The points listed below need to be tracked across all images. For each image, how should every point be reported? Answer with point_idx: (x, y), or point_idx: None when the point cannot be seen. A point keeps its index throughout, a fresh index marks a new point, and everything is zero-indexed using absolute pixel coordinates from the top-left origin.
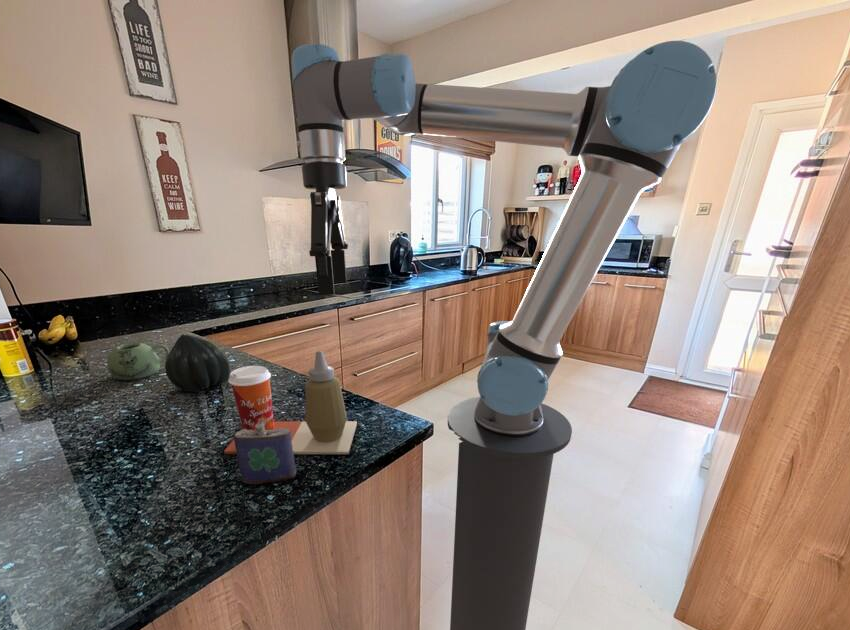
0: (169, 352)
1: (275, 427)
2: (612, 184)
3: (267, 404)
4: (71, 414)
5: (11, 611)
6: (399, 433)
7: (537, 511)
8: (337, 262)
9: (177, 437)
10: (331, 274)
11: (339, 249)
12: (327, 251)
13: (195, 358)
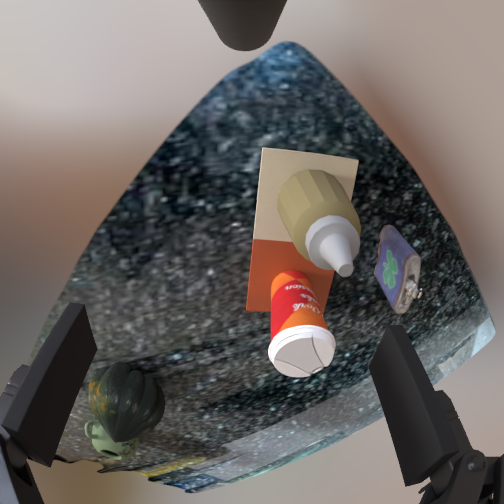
0: (86, 423)
1: (269, 273)
2: None
3: (311, 302)
4: (214, 439)
5: (453, 349)
6: (305, 75)
7: None
8: (57, 402)
9: (273, 364)
10: (431, 387)
11: (13, 442)
12: (485, 464)
13: (145, 413)
